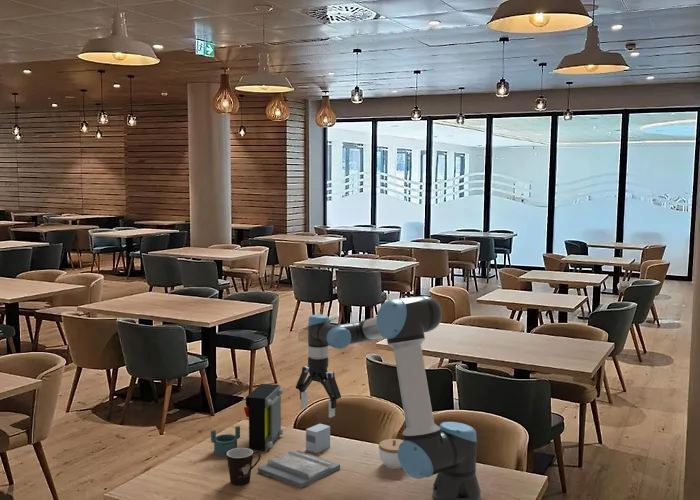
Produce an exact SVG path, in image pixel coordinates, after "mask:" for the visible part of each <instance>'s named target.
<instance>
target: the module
mask: <svg viewBox="0 0 700 500" xmlns="http://www.w3.org/2000/svg"><path fill="white" fill-rule="evenodd" d="M328 448H331V425H327V424H322V423H318V424H315V425H313V426H311V427H308V428H306V429H305V450H306V451H307V450H308V451H307V452H310V451H311V453H313V452H314V453H313V454H318V453H320V452H323V451H324V450H327V449H328Z"/></svg>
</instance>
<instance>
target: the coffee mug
mask: <svg viewBox="0 0 700 500" xmlns="http://www.w3.org/2000/svg"><path fill="white" fill-rule="evenodd" d="M255 454H257V455H258V458H257V460H256V462H254V464H253V457H254V455H255ZM261 458H262V456H261V453H260V451H256V450H255V451H254V450H251V449H249V447H248V448H247V447H237V448H235V449H231V450H229V451H228V452H227V456H226V459H227V467H228V473H229V474H228V475H229V480H230V484H231V485H232V486H235V487H243V486H247V485H249V484H250V483H251V475H252V470H253V469H254V468H255V467H256V466H257V464H258V463H259V462H260V460H261Z"/></svg>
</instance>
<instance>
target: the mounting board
mask: <svg viewBox="0 0 700 500" xmlns="http://www.w3.org/2000/svg"><path fill="white" fill-rule="evenodd" d="M294 451H295V452H298V453H301V454H304V455H307V456H310V457H313V458H316V459H319V460H322V461H325V462H328V463H331V468H330V469H328V470H326V471H324V472H322V473H320V474H318V475H316V476H314V477H312V478H310V479H307V478H304V477H302V476H299V475H296V474H293V473H291V472H288V471H285V470H282V469H280V468H277V467H274V466H271V465H269V464H268V463H266V464H264V465H261V466H259V467H258V468H257V473H260V474H261V475H262V474H263V475H265V476H267V475H268V477H269V478H270V477H271V478H273V477H274V478H273V479H275V478H276V480H278V479H279V480H278V481H281V482H283V481H284V482H283V483H287V484H288V485H292V486H294V487H297V488H299V489H302V487H303V488H305V487H306V485H307V486H308V484H309V485H311V484H313V483H314V482H316V481H319V480H320V479H323V478H325V477H326V476H329V475H331V474H332V473H334V472H336V471H339V470H341V463H337V462H334V461H331V460H328V459H325V458H322V457H319V456H316V455H313V454H311V453H307V452H305V451H300V450H294ZM310 483H311V484H310ZM304 486H305V487H304Z"/></svg>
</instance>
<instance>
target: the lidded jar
mask: <svg viewBox="0 0 700 500" xmlns="http://www.w3.org/2000/svg"><path fill="white" fill-rule="evenodd" d="M402 442H403V439H400V438H399V439H397V438H389V439H388V438H387V439H383V440H381V441H380V442H379V443H378V449H379V453H378V454H379V458H380V460H381V462H382V463H383V464H384V465H385V467H386V468H387V469H391V470H399V469H403V468H402V466H401V464H400V462H399V459H398V448H399V445H400V444H401V443H402Z"/></svg>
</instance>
